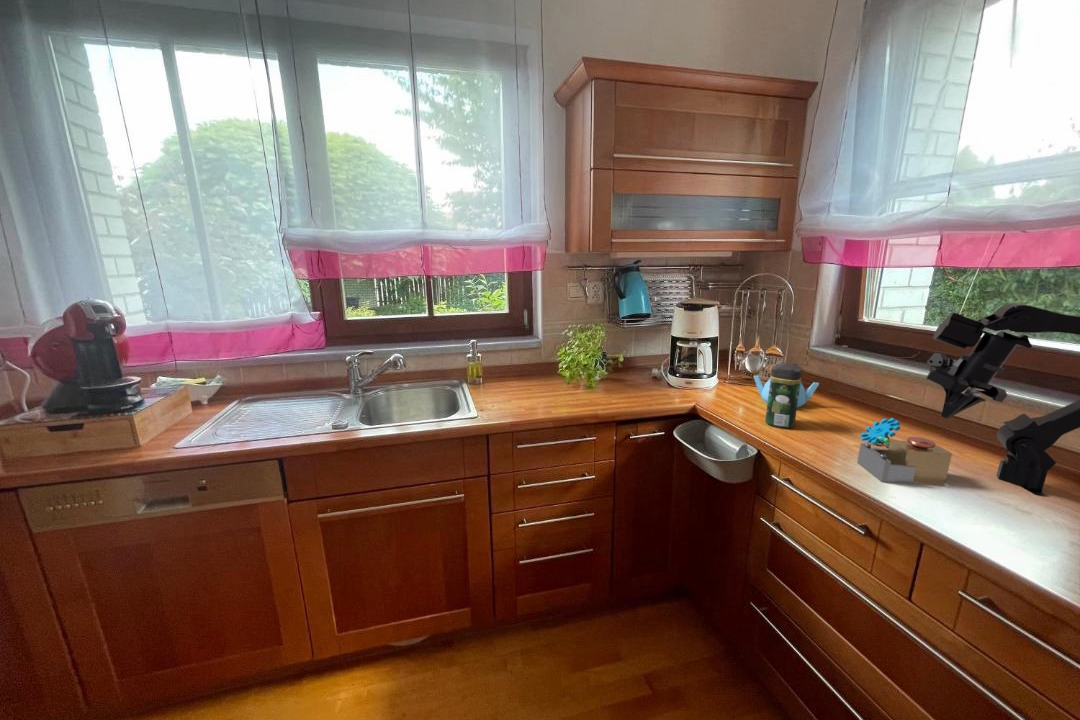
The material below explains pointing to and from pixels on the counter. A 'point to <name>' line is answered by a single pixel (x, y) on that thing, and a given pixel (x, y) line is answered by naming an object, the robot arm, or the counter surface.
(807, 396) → the teapot
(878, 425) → the gear
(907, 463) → the tan box
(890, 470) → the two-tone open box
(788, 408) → the coffee jar
